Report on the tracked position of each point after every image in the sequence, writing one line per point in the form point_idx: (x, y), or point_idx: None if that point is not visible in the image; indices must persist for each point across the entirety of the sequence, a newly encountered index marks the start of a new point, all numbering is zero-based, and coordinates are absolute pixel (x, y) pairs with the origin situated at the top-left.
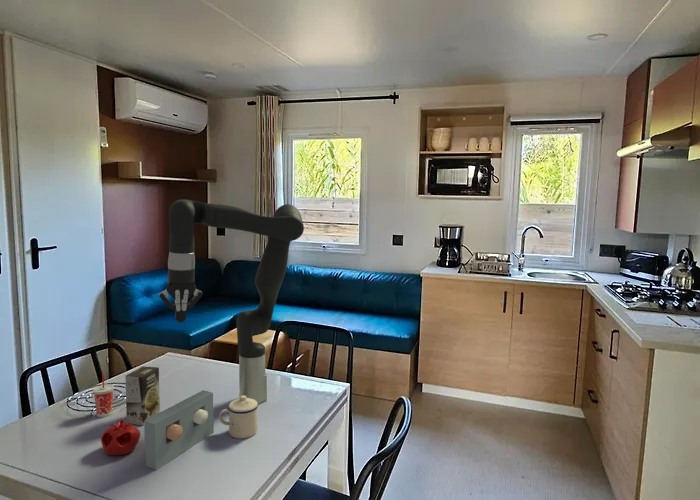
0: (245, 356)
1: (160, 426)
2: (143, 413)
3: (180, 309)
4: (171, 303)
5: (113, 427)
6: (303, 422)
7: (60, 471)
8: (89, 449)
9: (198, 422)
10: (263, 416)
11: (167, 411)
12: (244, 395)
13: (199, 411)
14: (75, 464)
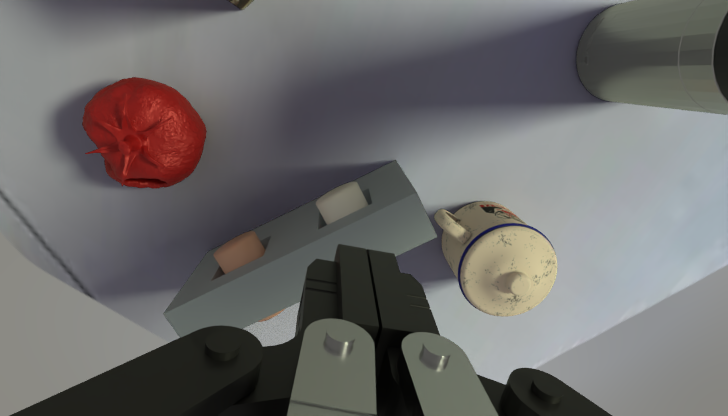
0: (723, 86)
1: None
2: (235, 3)
3: (379, 335)
4: (208, 408)
5: (103, 147)
6: (634, 286)
7: (3, 149)
8: (73, 71)
9: None
10: (574, 189)
11: (246, 291)
12: (528, 282)
13: None
14: (39, 136)
